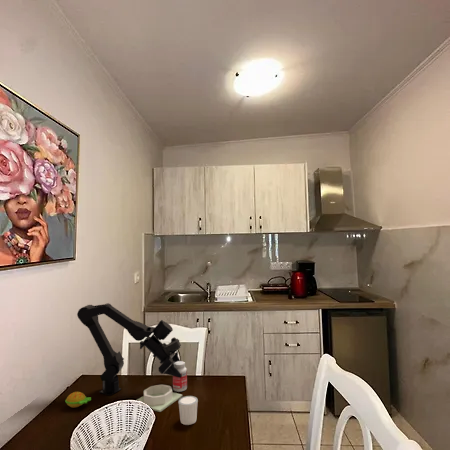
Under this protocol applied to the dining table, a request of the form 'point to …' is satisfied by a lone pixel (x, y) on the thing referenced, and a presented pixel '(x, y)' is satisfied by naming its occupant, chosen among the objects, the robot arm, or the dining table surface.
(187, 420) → the shot glass
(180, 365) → the pill bottle
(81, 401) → the toy pineapple
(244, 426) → the dining table surface
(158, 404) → the octagonal tray
